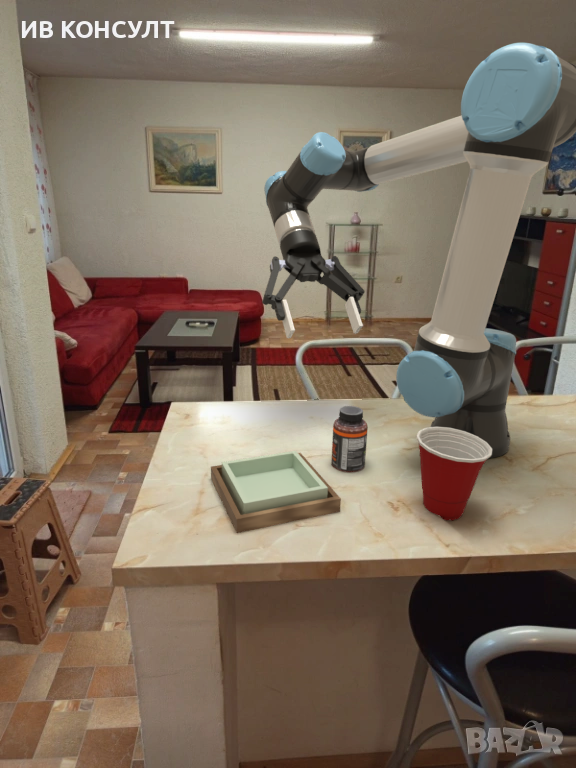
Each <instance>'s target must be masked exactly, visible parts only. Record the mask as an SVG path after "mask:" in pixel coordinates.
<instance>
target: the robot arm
mask: <svg viewBox="0 0 576 768" xmlns="http://www.w3.org/2000/svg"><path fill="white" fill-rule="evenodd" d="M575 133H576V65H574V64H573V63H571V62H568V61H566V60H564V59H563V58H561V57H560V56H558V55H557V54H556V53H554V51H553V50H551V49H550V48H547V47H546V46H543V45H537V44H534V43H529V42H514V43H510V44H507V45H504V46H502V47H500V48H497V49H496V50H494V51H493V52H491V53H490V54H489V55H488V56H487V57H486V58H485V59H484V60H482V61H481V62H480V63H479V64H478V65H477V66H476V67H475V69H474V70H473V72H472V73H471V75H470V76H469V77H468V80H467V82H466V84H465V87H464V89H463V93H462V96H461V102H460V115H459V116H456V117H452V118H449V119H446V120H444V121H443V120H442V121H440V122H438V123H437V122H436V123H435V124H432V125H429V126H425V127H423V128H420V129H417V130H414V131H411V132H408V133H404V134H402V135H399V136H396V137H393V138H390V139H388V140H384V141H381V142H378V143H374V144H372V145H369V146H367V147H364V148H360V149H357V150H349V149H345V148H344V146H343V144H342V143H341V142H340V141H339V140H338V139H337V138H336V137H334V136H333V135H330V134H329V133H328V132H324V131H323V132H322V131H318V132H316V133H315V134H313V136H312V137H311V138H310V139H309V140H308V142H307V143H306V144H304V146H303V147H301V150H300V151H299V153H298V155H297V156H296V158H295V159H294V161H293V162H292V163H291V165H290V166H289V167H288V169H287V170H280V171H277V172H275V173H274V174H273V175H270V176H269V177H268V178H267V180H266V181H265V182H264V183H265V184H264V194H265V203H266V206H267V208H268V211H269V214H270V217H271V221H272V225H273V227H274V231H275V234H276V237H277V241H278V244H279V249H280V252H281V256H282V259H280V258H279V257H278V256H275V255H274V256H273V257H272V259H271V262H270V264H269V271H270V272H269V273H270V275H269V278H268V282H267V285H266V288H265V291H264V294H263V298H262V302H261V303H262V304H263V305H265V306H267V305H270V306H271V309H272V310H274V313H275V315H276V316H275V317H276V320H278V321H279V322H280V321H281V322H282V325H283V329H284V332H285V333H284V334H285V336H286V339H291V338H292V337H293V335H294V334H295V331H296V329H295V326H294V322H293V318H292V315H291V311H290V307H289V303H288V301H287V300H288V299H284V298H285V297H286V295H288V294H287V293H288V292H289V290H290V289H291V288H292V287H293V285H294V284H295V282H296V280H297V281H299V282H300V283H305V282H311V283H315V282H317V283H318V284H320V285H323V286H326V287H327V288H328V289H329V290H331V291H332V292H333V293H334V294H335V295H337V296H338V297H340V298H341V299H342V300H343V301H345V304H344V307H345V311H346V314H347V316H348V321H349V323H350V326H351V330H352V332H353V334H358V333H359V332H360V330H361V329H362V328H363V327H364V324H363V322H362V321H363V320H362V319H361V315H360V314H361V313H362V308H361V306H360V303H359V301H360V300H361V299H362V297H363V296H364V294H365V290H364V289H363V287H362V286H361V285H360V284H359V283H358V281H356V280H355V279H354V277H353V276H352V275H351V274H350V273H349V272H348V271H347V270H346V268H345V267H344V266H343V265H342V264H341V261H340V260H339V258H338V257H337V256H336V255H333V256H332V257H331V258H330V259H325V258H324V257H323V256H322V253H321V247H320V244H319V241H318V238H317V235H316V232H315V228H314V224H313V222H312V219H311V216H310V213H309V210H308V207H309V205H310V204H311V203H312V202H313V201H314V200H315V199H316V198H317V196H318V195H319V194H320V193H321V192H322V190H338V191H351V192H353V191H354V192H358V193H360V192H361V193H363V192H368V191H369V192H370V191H373V190H375V189H376V188H377V187H379V186H380V185H381V184H385V183H389V182H393V181H397V180H400V179H405V178H409V177H413V176H416V175H421V174H424V173H428V172H431V171H435V170H439V169H443V168H447V167H451V166H454V165H455V166H456V165H459V164H462V163H466V162H467V163H468V165H469V172H468V176H467V180H466V183H465V189H464V192H463V195H462V200H461V203H460V206H459V211H458V215H457V219H456V223H455V226H454V230H453V234H452V238H451V242H450V245H449V250H448V253H447V257H446V262H445V265H444V270H443V272H442V276H441V281H440V283H439V284H440V285H439V287H438V288H439V289H438V292H437V297H436V300H435V305H434V307H433V313H432V316H431V320H430V321H429V322H428V323H426V324H425V325H423V326H421V327H420V328H419V330H418V334H417V337H416V340H415V345H414V349H413V350H412V351H410V352H409V353H408V354H406V355H405V356H404V357H403V358H402V360H401V361H400V362H399V364H398V367H397V369H396V385H397V386H396V387H397V389H398V393H399V394H400V395H402V398H403V401H404V402H405V403H406V405H408V406H409V408H410V409H412V410H413V411H415V412H416V413H418V414H419V415H421V416H425V417H429V418H434V420H433V421H431V424H430V427H447V428H453V429H457V430H462V431H465V432H468V433H470V434H473V435H475V436H478V437H479V438H481V439H482V440H484V441H485V442H487V443H488V444H489V446H490V447H491V448H492V455H491V457H489V458H488V459H492V458H498V457H501V456H503V455H505V454H506V453H508V452H509V449H510V445H511V433H509V424H508V417H507V414H506V410H507V409H506V407H507V402H508V396H509V392H510V391H509V390H510V385H511V379H512V373H513V367H514V363H515V362H514V361H515V356H516V355H517V351H516V349H517V338H516V336H515V335H514V334H512V333H510V332H507V331H505V330H504V331H503V330H500V329H494V328H487V324H488V321H489V317H490V315H491V311H492V308H493V304H494V302H495V298H496V296H497V295H496V294H497V291H498V288H499V286H500V281H501V279H502V275H503V272H504V270H505V269H504V268H505V265H506V262H507V259H508V256H509V253H510V249H511V247H512V242H513V239H514V236H515V233H516V229H517V227H518V223H519V219H520V216H521V213H522V210H523V206H524V203H525V200H526V198H527V194H528V190H529V187H530V184H531V181H532V177H533V176H535V174H537V172H539V171H541V170H543V169H544V168H545V167H547V166H548V165H549V162H550V159H551V155H552V153H553V149H554V148H556V147H558V146H560V145H561V144H563V143H565V142H566V141H568V140H569V139H570V138H572V137H573V136H574V135H575ZM282 269H284V270H285V271H286V272H287V273H288V274H289V275H288V277H287V278H286V280H285V281H284V283H283V284H282V285H281V287H280V289H279V290H278V291H277V293H276V294H273V293H274V289H275V287H276V286H275V285H276V282H277V279H278V275H279V272H281V271H282ZM322 273H323V276H321V274H322Z"/></svg>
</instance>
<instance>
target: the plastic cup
mask: <svg viewBox="0 0 576 768" xmlns="http://www.w3.org/2000/svg"><path fill="white" fill-rule="evenodd" d="M416 441H417V442H418V450H419V459H420V476H421V477H420V478H421V479H420V480H421V489H422V502H423V503H422V504H423V506H424V508H425V509H426V510H427V511H428V512H430V513H432V514H434V515H436V516H439V517H440V518H441V519H442V520H443V521H455V520H459V519H460V518H461V517H462V516H463V514H464V512H465V509H466V506H467V503H468V502H469V501H468V500H469V499H470V497H471V494H472V492H473V489H474V486H475V484H476V482H477V479H478V476H479V475H480V474H479V473H480V471H481V470H482V468H483V466H484V465H485V463H486V461H487V460H488V459H490V458H489V457H491V455H492V448H491V447H490V446H489V444H488V443H487V442H485V441H484V440H482V439H481V438H479V437H478V436H475V435H473V434H470V433H468V432H465V431H462V430H457V429H453V428H447V427H431V426H430V427H424V428H422V429H420V430H418V432H417V434H416Z"/></svg>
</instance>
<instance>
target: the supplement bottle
mask: <svg viewBox="0 0 576 768" xmlns="http://www.w3.org/2000/svg"><path fill="white" fill-rule="evenodd" d="M338 414H339V415H338V417H337V418H336V419H335V420H334V421H333V425H332V443H331V445H332V446H331V447H332V448H331V459H330V461H331V466H332V468H334V469H335V470H337V471H340V472H344V473H357V472H358V473H359V472H361V471H362V470H363V469H365V467H366V454H367V444H368V443H367V440H368V430H369V429H368V424H367V422H366V420H364V419H363V418H364V410H363V409H362V408H361V407H359V406H354V405H345V406H341V407H340V409H339V413H338Z"/></svg>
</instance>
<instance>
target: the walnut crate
mask: <svg viewBox="0 0 576 768" xmlns="http://www.w3.org/2000/svg"><path fill="white" fill-rule="evenodd" d="M297 453H298V454H299V455H300V456H301V457H302V459H303V460H304V461H305V462H306V463H307V464H308V465H309V467H310V468H311V469H312V470H313V471H314V472H315V474H316V475H317V476H318V477H319V478H320V479H321V480H322V482H323V483H324V484H325V485H326V486H327V487H328V494H327V498H325V499H320V500H315V501H310V502H305V503H300V504H295V505H289V506H284V507H279V508H274V509H269V510H264V511H259V512H254V513H248V514H243V515H240V513H239V511H238V509H237V507H236V505H235V503H234V501H233V499H232V497H231V495H230V493H229V491H228V489H227V487H226V485H225V483H224V482H223V480H222V464H219V465H213V466H210V479H211V481H212V484H213V485H214V487H215V491H216V492H217V495H218V496H219V498H220V500H221V502H222V504H223V507H224V509H225V511H226V513H227V515H228V517H229V519H230V520H229V521H230V522H231V523H232V526H233V528H234V530H235V532H236V533H237V534H238V533H243V532H249V531H254V530H259V529H264V528H269V527H273V526H278V525H282V524H287V523H288V524H289V523H292V522H297V521H301V520H307V519H310V518H316V517H321V516H326V515H330V514H336V513H340V512H341V504H342V503H341V502H342V501H341V500H342V498H341V497H340V495H338V494H337V492H336V491H335V490H334V489H333V488H332V487H331V486H330V485H329V484H328V482H327V481H326V480H325V479H324V478H323V476H321V474H320V473H319V472H318V470H316V468H315V467H314V466H313V465H312V464H311V463H310V461H309V460H308V459H307V458H306V457H305V456H304V455H303V453H302V452H297Z"/></svg>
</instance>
